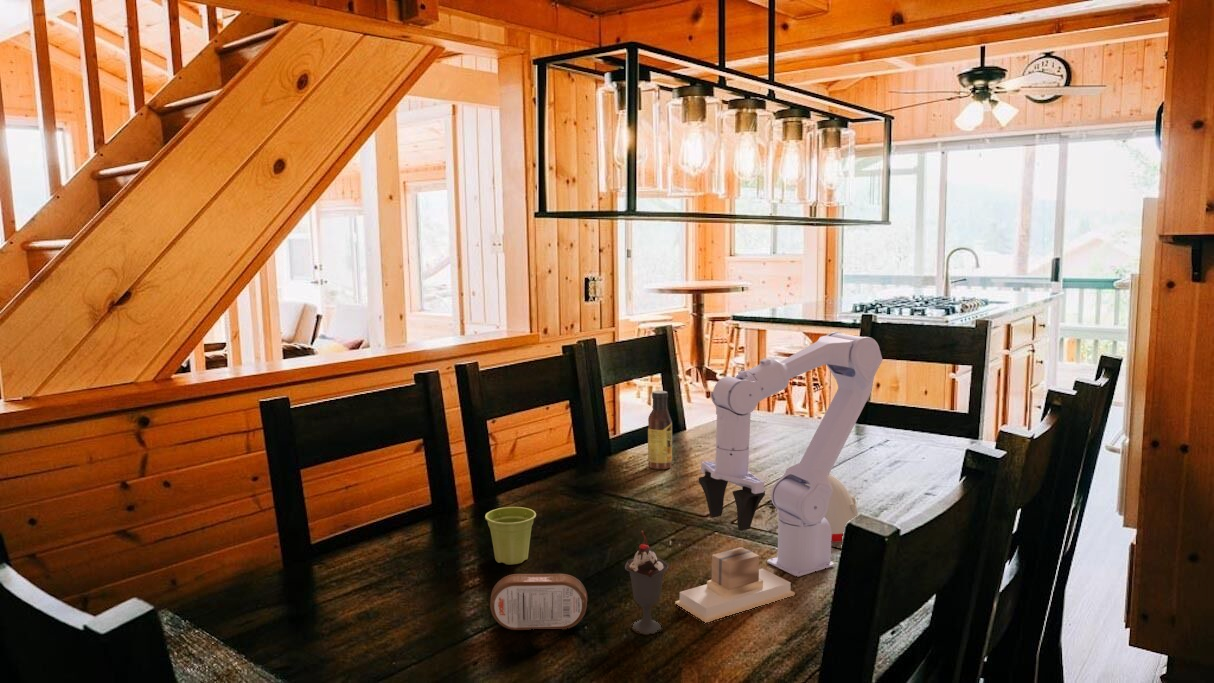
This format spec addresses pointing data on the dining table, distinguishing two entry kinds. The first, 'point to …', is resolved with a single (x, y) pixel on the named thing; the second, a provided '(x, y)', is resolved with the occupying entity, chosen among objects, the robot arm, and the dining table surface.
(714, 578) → the taped parcel
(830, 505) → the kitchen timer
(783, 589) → the dock
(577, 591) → the tin
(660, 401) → the sauce bottle
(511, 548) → the plant pot
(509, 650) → the dining table surface
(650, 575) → the sundae
